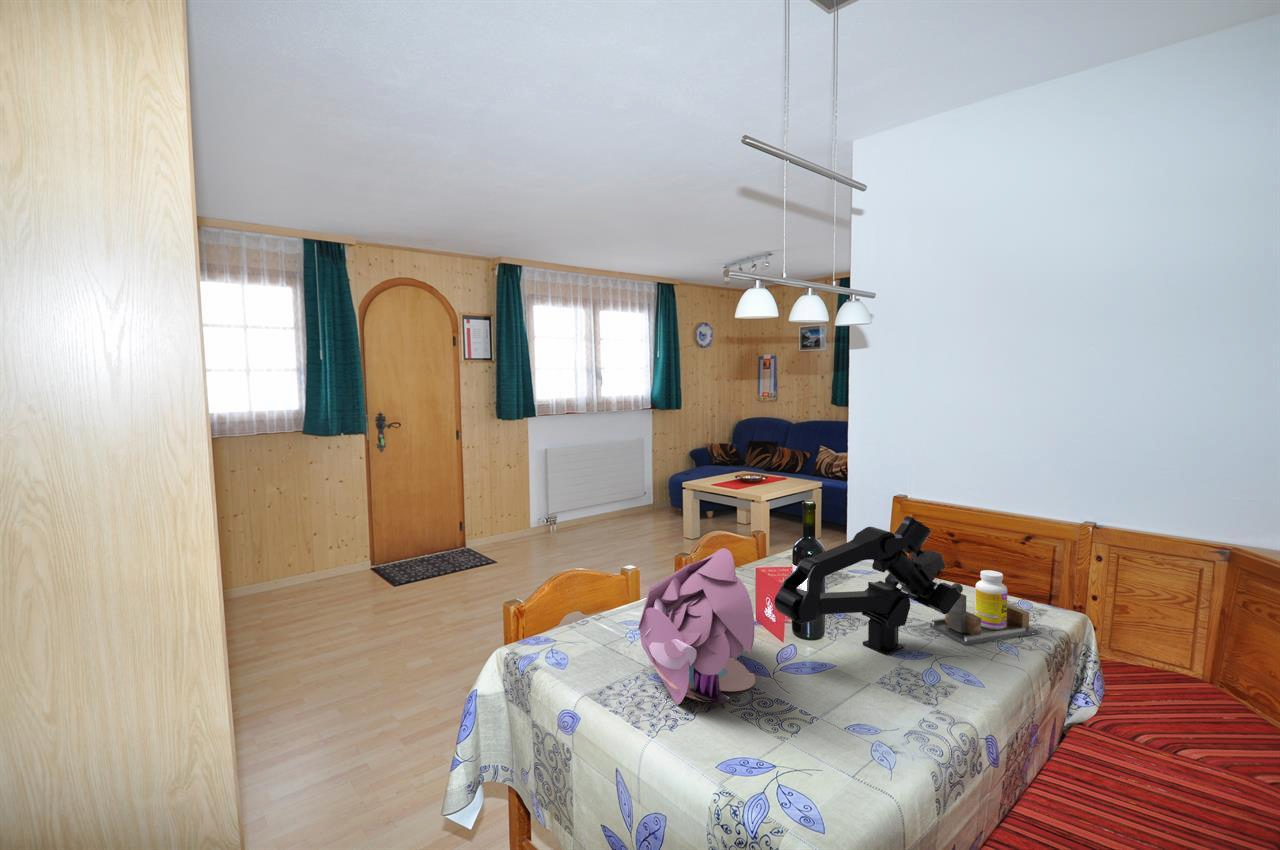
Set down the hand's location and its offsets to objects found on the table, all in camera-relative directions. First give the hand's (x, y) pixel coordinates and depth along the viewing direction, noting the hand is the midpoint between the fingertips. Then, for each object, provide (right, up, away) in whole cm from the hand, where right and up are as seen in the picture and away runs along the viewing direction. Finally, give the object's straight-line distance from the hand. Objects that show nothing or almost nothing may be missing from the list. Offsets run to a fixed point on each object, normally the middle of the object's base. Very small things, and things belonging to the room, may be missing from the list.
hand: (941, 609), depth 138 cm
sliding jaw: (+5, -5, +2) cm, 7 cm away
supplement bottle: (+14, -5, +4) cm, 16 cm away
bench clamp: (+12, -6, +4) cm, 14 cm away
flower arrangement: (-57, -9, -16) cm, 60 cm away
